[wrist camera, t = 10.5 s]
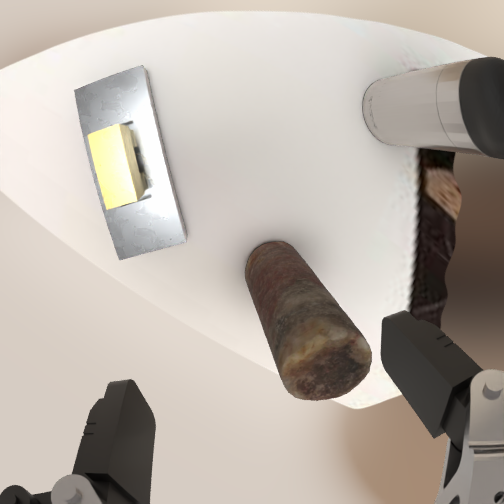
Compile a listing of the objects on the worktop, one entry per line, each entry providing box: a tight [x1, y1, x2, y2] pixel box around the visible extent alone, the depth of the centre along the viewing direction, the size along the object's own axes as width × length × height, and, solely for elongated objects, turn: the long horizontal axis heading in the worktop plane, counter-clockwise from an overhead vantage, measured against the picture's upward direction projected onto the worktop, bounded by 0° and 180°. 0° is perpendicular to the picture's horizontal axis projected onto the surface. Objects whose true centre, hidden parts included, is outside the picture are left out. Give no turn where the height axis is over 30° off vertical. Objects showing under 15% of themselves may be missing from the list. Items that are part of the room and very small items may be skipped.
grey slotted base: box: [74, 65, 187, 260], centre depth 31 cm, size 8×20×3 cm, turn 12°
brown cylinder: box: [245, 241, 372, 401], centre depth 30 cm, size 8×7×20 cm
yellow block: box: [88, 124, 148, 210], centre depth 28 cm, size 3×7×8 cm, turn 12°
